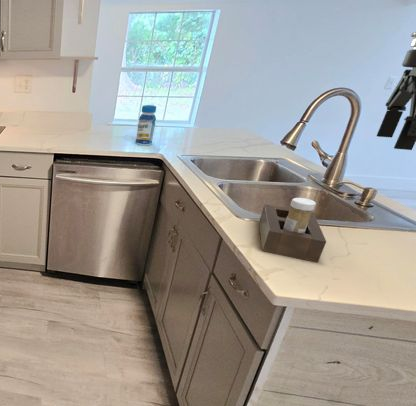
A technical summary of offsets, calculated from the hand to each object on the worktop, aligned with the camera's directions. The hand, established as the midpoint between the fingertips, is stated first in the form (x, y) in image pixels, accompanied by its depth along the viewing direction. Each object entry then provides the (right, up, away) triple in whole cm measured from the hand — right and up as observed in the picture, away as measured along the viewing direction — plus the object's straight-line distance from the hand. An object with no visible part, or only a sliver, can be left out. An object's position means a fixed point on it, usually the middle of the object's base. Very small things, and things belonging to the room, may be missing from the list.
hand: (392, 142), depth 89 cm
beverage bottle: (-11, +18, +109) cm, 111 cm away
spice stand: (-17, -25, +11) cm, 32 cm away
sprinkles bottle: (-19, -27, +8) cm, 34 cm away
